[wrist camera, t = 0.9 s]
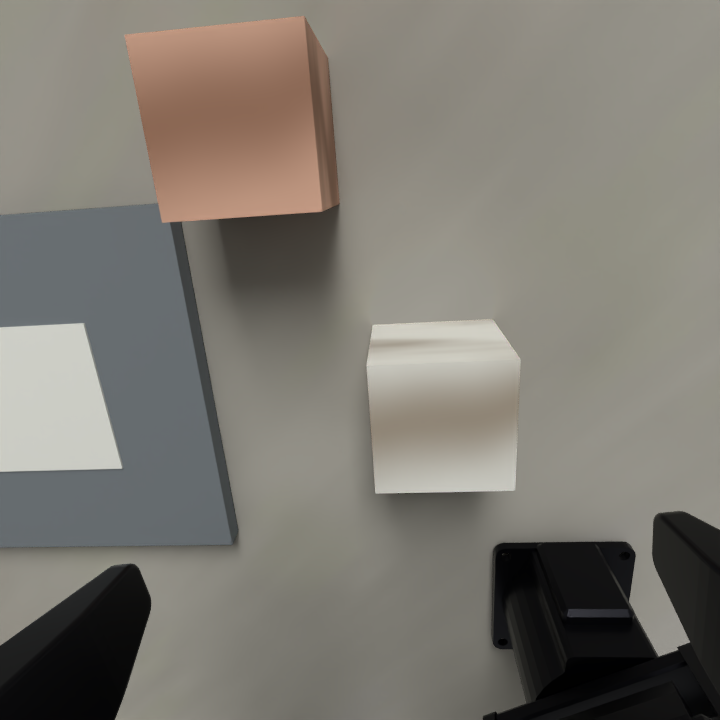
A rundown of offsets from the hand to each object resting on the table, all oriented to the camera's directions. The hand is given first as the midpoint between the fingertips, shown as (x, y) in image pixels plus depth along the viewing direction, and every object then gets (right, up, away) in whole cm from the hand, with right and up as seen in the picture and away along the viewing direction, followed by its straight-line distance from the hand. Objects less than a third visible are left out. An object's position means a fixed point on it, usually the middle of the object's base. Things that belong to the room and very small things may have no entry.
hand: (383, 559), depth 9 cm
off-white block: (+3, +3, +13) cm, 14 cm away
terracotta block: (-4, +12, +10) cm, 16 cm away
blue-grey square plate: (-15, +2, +15) cm, 21 cm away
